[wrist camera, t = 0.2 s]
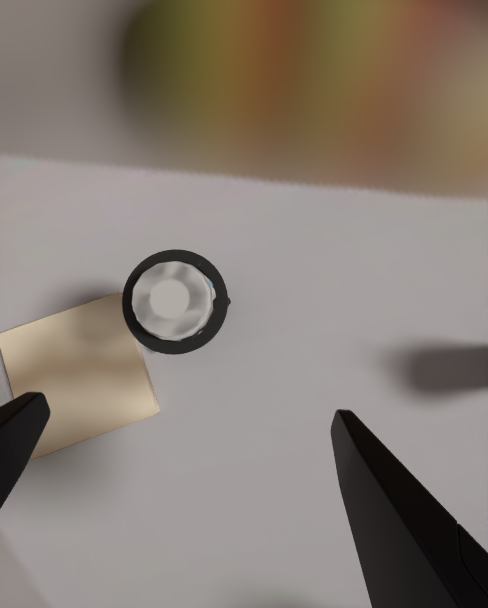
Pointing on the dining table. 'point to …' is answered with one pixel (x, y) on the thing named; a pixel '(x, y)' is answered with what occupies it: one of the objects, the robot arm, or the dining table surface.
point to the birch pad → (80, 372)
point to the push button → (174, 302)
